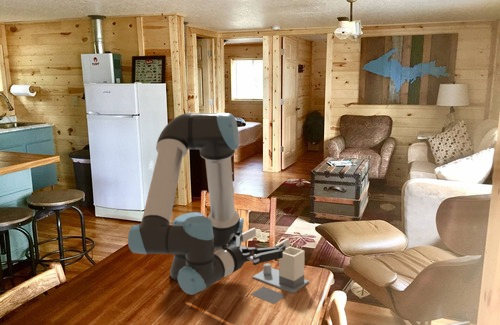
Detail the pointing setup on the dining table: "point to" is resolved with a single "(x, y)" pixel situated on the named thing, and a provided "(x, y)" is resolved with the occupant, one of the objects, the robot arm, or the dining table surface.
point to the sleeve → (292, 267)
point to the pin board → (275, 278)
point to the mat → (268, 295)
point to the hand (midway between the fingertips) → (271, 236)
